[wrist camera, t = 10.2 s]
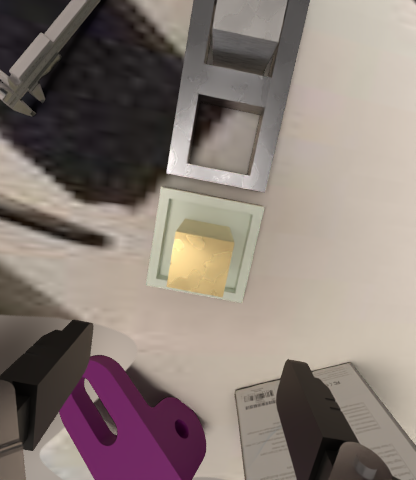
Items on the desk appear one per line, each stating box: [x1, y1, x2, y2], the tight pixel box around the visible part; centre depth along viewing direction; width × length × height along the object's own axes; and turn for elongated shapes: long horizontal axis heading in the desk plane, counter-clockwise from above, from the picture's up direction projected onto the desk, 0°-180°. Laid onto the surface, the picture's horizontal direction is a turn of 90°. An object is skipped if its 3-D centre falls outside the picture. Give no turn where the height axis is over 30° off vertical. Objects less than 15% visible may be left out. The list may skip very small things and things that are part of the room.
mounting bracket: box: [59, 355, 206, 480], centre depth 35 cm, size 9×8×18 cm
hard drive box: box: [235, 363, 416, 480], centre depth 27 cm, size 16×8×20 cm, turn 107°
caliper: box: [0, 0, 101, 116], centre depth 25 cm, size 20×1×6 cm, turn 141°
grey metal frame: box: [167, 0, 310, 193], centre depth 28 cm, size 18×10×3 cm, turn 169°
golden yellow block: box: [166, 219, 235, 297], centre depth 28 cm, size 5×5×8 cm
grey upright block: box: [212, 0, 287, 76], centre depth 24 cm, size 5×5×8 cm
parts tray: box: [146, 187, 265, 303], centre depth 31 cm, size 11×11×2 cm
